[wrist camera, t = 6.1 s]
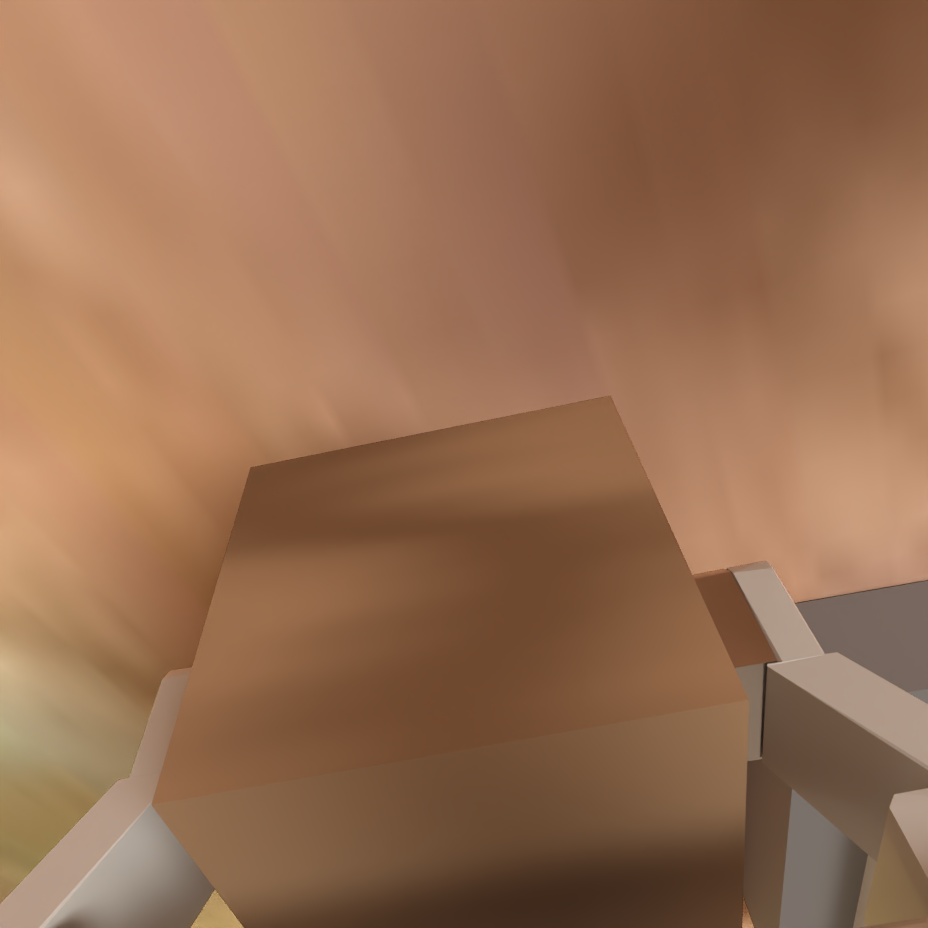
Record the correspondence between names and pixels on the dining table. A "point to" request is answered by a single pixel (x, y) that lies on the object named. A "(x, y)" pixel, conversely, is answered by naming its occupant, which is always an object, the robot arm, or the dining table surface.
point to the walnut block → (462, 694)
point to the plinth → (789, 815)
